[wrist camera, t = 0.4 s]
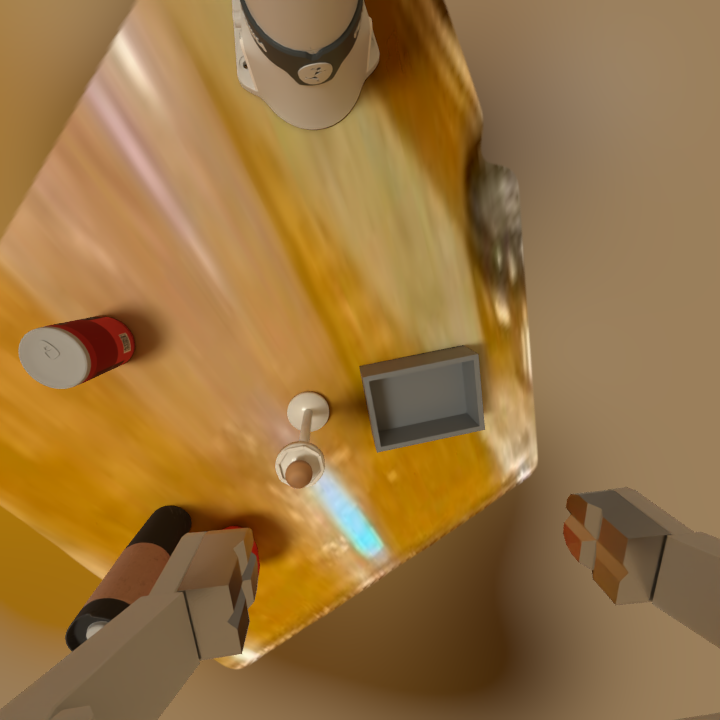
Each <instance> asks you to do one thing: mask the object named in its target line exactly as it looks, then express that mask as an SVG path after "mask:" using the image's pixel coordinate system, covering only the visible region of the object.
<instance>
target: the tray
mask: <svg viewBox="0 0 720 720" xmlns="http://www.w3.org/2000/svg"><path fill="white" fill-rule="evenodd" d="M359 367H360V372H361V378H362V383H363V388H364V393H365V398H366V403H367V409H368V414H369V419H370V424H371V429H372V435H373V438H374V442H375V446H376V450H377V452H381V451H386V450H391V449H395V448H400V447H405V446H410V445H414V444H419V443H424V442H429V441H433V440H438V439H443V438H447V437H452V436H457V435H462V434H466V433H471V432H476V431H480V430H485V425H484V414H483V402H482V391H481V379H480V368H479V356H478V354H477V353H476V352H474V351H472V350H470V349H469V348H467V347H465V346H463V345H462V346H457V347H452V348H447V349H442V350H437V351H433V352H428V353H423V354H418V355H413V356H408V357H403V358H398V359H393V360H388V361H383V362H378V363H373V364H368V365H363V366H359Z"/></svg>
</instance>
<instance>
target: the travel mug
mask: <svg viewBox="0 0 720 720" xmlns="http://www.w3.org/2000/svg"><path fill="white" fill-rule="evenodd" d="M191 524H192V523H191V518H190V516H189V514H188V513H187V512H186V511H185V510H183V509H181V508H179V507H176V506H164V507H161V508H159V509H158V510H156V511H155V512H154V513H153V514H152V515H151V517H150V518H149V519H148V520H147V522H146V523H145V524H144V526H143V527H142V528H141V529H140V531H139V532H138V533H137V534H136V536H135V537H134V538H133V540H132V541H131V542H130V543H129V545H128V546H127V547H126V549H125V550H124V551H123V552H122V554H121V555H120V557H119V558H118V559H117V561H116V562H115V564H114V565H113V566H112V568H111V569H110V571H109V572H108V573H107V575H106V576H105V577H104V579H103V580H102V582H101V583H100V585H99V586H98V587H97V589H96V590H95V591H94V593H93V594H92V596H91V597H90V598H89V600H88V601H87V603H86V604H85V605H84V607H83V608H82V610H81V611H80V612H79V614H78V615H77V616H76V618H75V619H74V621H73V622H72V623H71V625H70V626H69V628H68V630H67V632H66V636H65V639H66V644H67V646H68V648H69V649H70V650H71V651H72V652H73V651H74V650H75V649H76V648H78V647H79V646H80V645H81V644H83V643H84V642H85V641H86V640H88V639H89V638H90V637H91V636H93V635H94V634H95V633H96V632H97V631H99V630H100V629H101V628H102V627H104V626H105V625H106V624H107V623H109V622H110V621H111V620H112V619H114V618H115V617H116V616H117V615H119V614H120V613H121V612H122V611H124V610H125V609H126V608H127V607H129V606H130V605H131V604H132V603H134V602H135V601H136V600H137V599H139V598H140V597H142V596H148V595H149V593H150V592H151V590H152V588H153V586H154V585H155V583H156V581H157V579H158V578H159V576H160V574H161V572H162V571H163V569H164V567H165V565H166V564H167V562H168V560H169V558H170V557H171V555H172V553H173V551H174V550H175V548H176V546H177V544H178V543H179V541H180V539H181V538H182V537H183V536H184V535H185V534H187V533H189V531H190V528H191Z"/></svg>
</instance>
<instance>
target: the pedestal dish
mask: <svg viewBox="0 0 720 720" xmlns="http://www.w3.org/2000/svg"><path fill="white" fill-rule="evenodd" d="M287 415H288V419H289V421H290V423H291V424H292V425H293V426H294V427H295V428H297V429H298V430H301V431H300V436H299V441H297V442H293V443H290V444H288V445H286V446H285V447H284V448H283V449H282V450H281V451H280V452H279V454H278V456H277V460H276V464H275V467H276V472H277V475H278V477H279V480H281V481H282V482H283V483H285V484H287V485H289V484H288V483H287V481H286V478H285V472H286V469H287V467H288V466H289V465H290V464H291V463H292V462H294V461H296V460H303V461H306V462H307V463H309V465H310V466H311V468H312V471H313V475H312V479H311V481H310V483H309V484H308V485H307V486H312V485H314V484H315V483H316V482H317V481H318V480H319V479H320V478H321V476H322V475H323V472H324V468H325V459H324V455H323V453H322V452H321V450H320V449H319V448H318V447H317V446H315V445H314V444H312V443H309V440H310V432H311V431H316V430H318V429H320V428H321V427H323V426H324V425H325V423H326V422H327V420H328V417H329V406H328V403H327V401H326V400H325V398H324V397H323V396H321V395H320V394H318V393H315V392H310V391H307V392H302V393H299V394H297V395H296V396H294V397H293V398H292V400H291V401H290V403H289V406H288V410H287ZM289 486H290V485H289ZM307 486H305V487H307ZM297 489H298V488H297Z"/></svg>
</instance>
